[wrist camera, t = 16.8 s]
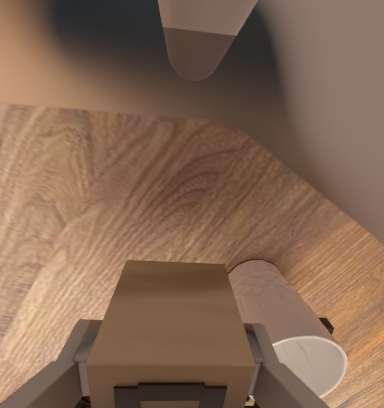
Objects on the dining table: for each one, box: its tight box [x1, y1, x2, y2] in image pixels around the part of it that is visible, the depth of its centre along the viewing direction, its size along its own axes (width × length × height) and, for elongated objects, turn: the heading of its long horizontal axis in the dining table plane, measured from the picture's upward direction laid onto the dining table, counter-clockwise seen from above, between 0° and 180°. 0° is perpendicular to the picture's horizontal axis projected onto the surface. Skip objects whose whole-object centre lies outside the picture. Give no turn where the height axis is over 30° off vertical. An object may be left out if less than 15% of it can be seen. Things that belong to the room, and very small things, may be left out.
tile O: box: [86, 260, 256, 408], centre depth 8 cm, size 4×4×5 cm
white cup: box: [228, 260, 348, 401], centre depth 21 cm, size 8×8×10 cm
